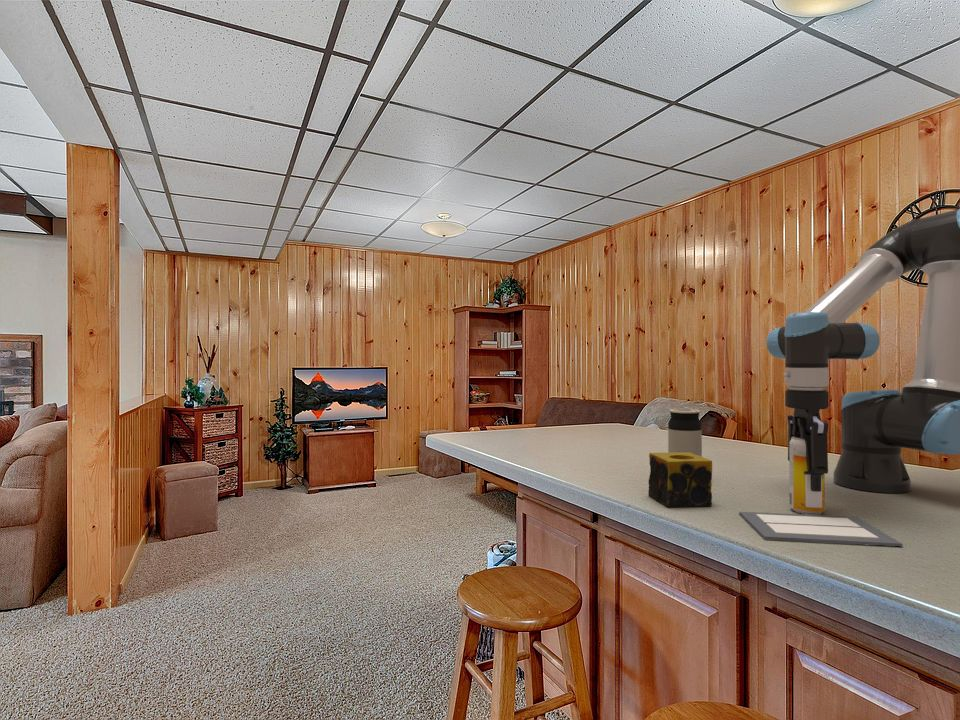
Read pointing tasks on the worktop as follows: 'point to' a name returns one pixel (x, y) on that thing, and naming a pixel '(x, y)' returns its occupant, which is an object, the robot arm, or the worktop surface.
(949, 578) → the worktop surface
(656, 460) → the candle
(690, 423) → the travel mug
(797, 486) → the beer can
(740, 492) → the worktop surface
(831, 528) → the blotter
